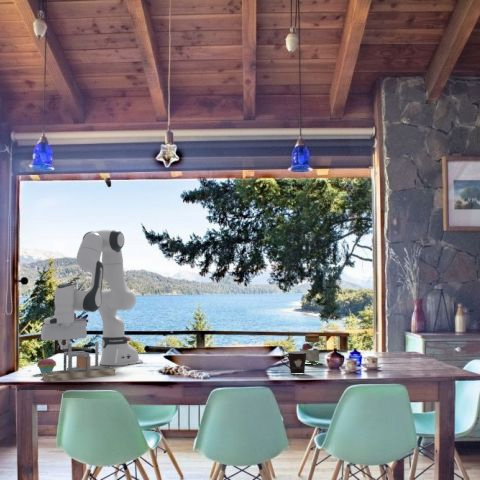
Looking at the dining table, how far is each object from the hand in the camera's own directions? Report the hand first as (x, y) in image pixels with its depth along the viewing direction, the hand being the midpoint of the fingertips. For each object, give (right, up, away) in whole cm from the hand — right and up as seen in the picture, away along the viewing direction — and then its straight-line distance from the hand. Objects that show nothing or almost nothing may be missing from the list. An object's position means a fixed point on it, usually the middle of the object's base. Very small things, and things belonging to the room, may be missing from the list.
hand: (64, 349), depth 274 cm
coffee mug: (+106, -13, +9) cm, 108 cm away
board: (+6, -13, +3) cm, 15 cm away
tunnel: (+5, -11, +2) cm, 12 cm away
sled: (+8, -10, +4) cm, 13 cm away
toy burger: (+118, -15, +39) cm, 125 cm away
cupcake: (-12, -14, +12) cm, 22 cm away
